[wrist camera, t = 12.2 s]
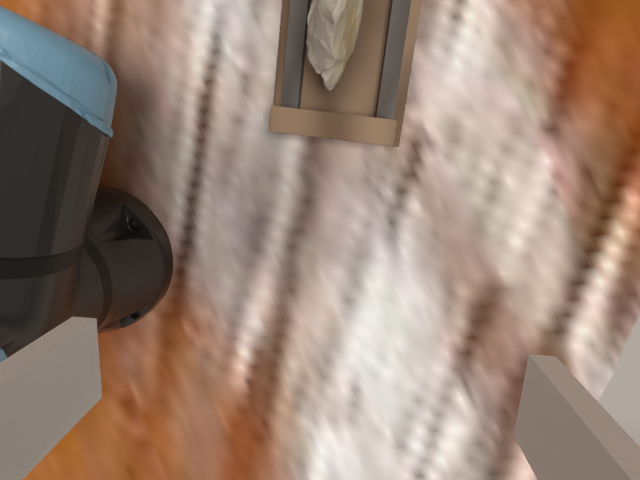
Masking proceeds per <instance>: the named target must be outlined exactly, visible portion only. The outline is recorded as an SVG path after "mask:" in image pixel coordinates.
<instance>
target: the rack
mask: <svg viewBox="0 0 640 480" xmlns="http://www.w3.org/2000/svg"><path fill="white" fill-rule="evenodd" d="M312 1H313V0H283V2H282V14H281V26H280V37H279V49H278V60H277V72H276V84H275V95H274V106H271V117H270V129H269V131H270V132H278V133H287V134H295V135H304V136H312V137H320V138H329V139H337V140H346V141H354V142H362V143H371V144H379V145H387V146H399V142H400V136H401V130H402V123H403V117H404V110H405V104H406V97H407V91H408V84H409V78H410V72H411V65H412V59H413V52H414V46H415V39H416V33H417V26H418V20H419V14H420V7H421V1H422V0H363V10H362V17H361V23H360V27H359V32H358V36H357V39H356V42H355V46H354V50H353V52H352V53H351V55H350V57H349V59H348V61H347V63H346V66H345V68H344V71H343V73H342V75H341V78H340V80H339V82H338V83H337V84H336V85H335V87H334V88H333V89H332V90H331V91H330V90H327V89H326V88H325V85H324V83H323V78H322V76H321V74H318V73H316V71H315V69H314V67H313V66H312V64H311V63H310V61H309V58H308V55H307V54H308V46H307V44H306V41H307V29H308V25H307V17H308V13H309V10H310V7H311V4H312Z"/></svg>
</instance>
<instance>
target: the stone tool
mask: <svg viewBox="0 0 640 480" xmlns="http://www.w3.org/2000/svg"><path fill="white" fill-rule="evenodd" d="M362 10H363V0H313V1H312V4H311V7H310V10H309V13H308V17H307V25H308V29H307V41H306V44H307V46H308V54H307V55H308V58H309V61H310V63H311V64H312V66H313V67H314V69H315V71H316V73H318V74H321V76H322V78H323V83H324V85H325V88H326V89H327V90H330V91H331V90H332V89H333V88H334V87H335V85H336V84H337V83H338V82H339V80H340V78H341V75H342V73H343V71H344V68H345V66H346V63H347V61H348V59H349V57H350V55H351V53H352V52H353V50H354V46H355V42H356V39H357V36H358V32H359V27H360V23H361V17H362Z"/></svg>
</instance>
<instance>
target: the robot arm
mask: <svg viewBox="0 0 640 480" xmlns="http://www.w3.org/2000/svg"><path fill="white" fill-rule="evenodd" d="M116 95H117V80H116V77H115V74H114V72H113V70H112V69H111V67H110V66H109V65H108V63H107V62H106V61H105V60H104V59H102V58H101V57H100V56H98V55H97V54H95V53H93V52H91V51H90V50H88V49H86V48H84V47H82V46H80V45H78V44H77V43H75V42H73V41H71V40H69V39H67V38H65V37H63V36H61V35H59V34H57V33H55V32H53V31H51V30H49V29H47V28H45V27H43V26H41V25H39V24H37V23H35V22H33V21H31V20H29V19H27V18H25V17H23V16H21V15H19V14H17V13H14V12H12V11H10V10H8V9H6V8H4V7H2V6H0V480H22V479H23V478H24V477H25V476H26V475H27V474H28V473H29V472H30V471H31V470H32V469H33V468H34V467H35V466H36V465H37V464H38V463H39V462H40V461H41V460H42V459H43V457H44V456H45V455H46V454H47V453H48V452H49V451H50V450H51V449H52V448H53V447H54V446H55V445H56V444H57V443H58V442H59V441H60V440H61V439H62V438H63V437H64V436H65V435H66V434H67V433H68V432H69V431H70V430H71V429H72V428H73V427H74V425H75V424H76V423H77V422H78V421H79V420H80V419H81V418H82V417H83V416H84V415H85V414H86V413H87V412H88V411H89V410H90V409H91V408H92V407H93V406H94V405H95V404H96V403H97V402H98V401H99V400H100V399H101V398H102V389H101V375H100V361H99V347H98V333H102V332H107V331H111V330H116V329H120V328H123V327H126V326H128V325H131V324H133V323H135V322H136V321H138V320H140V319H141V318H142V317H144V316H145V315H146V314H147V313H149V312H150V311H151V310H152V309H153V308H154V307H156V306H157V304H158V303H159V302H160V301H161V300H162V298H163V297H164V295H165V293H166V291H167V289H168V287H169V284H170V281H171V277H172V269H173V259H172V251H171V246H170V243H169V240H168V237H167V235H166V233H165V230H164V229H163V227H162V225H161V224H160V222H159V221H158V219H157V218H156V216H155V215H154V214H153V213H152V212H151V211H150V210H149V209H148V208H147V207H146V206H145V205H144V204H143V203H141V202H140V201H139V200H137V199H136V198H134V197H132V196H131V195H129V194H127V193H125V192H122V191H120V190H117V189H114V188H110V187H104V186H98V185H99V181H100V177H101V173H102V168H103V164H104V160H105V156H106V151H107V147H108V143H109V139H110V137H111V138H112V137H113V130H112V128H111V125H112V118H113V112H114V107H115V101H116ZM514 437H515V439H516V440H517V442H518V444H519V446H520V448H521V450H522V452H523V453H524V455H525V457H526V459H527V461H528V463H529V464H530V466H531V468H532V470H533V472H534V474H535V476H536V477H537V479H538V480H640V447H639V446H638V445H637V444H636V443H635V441H634V440H633V439H632V438H631V437H630V436H629V435H628V434H627V433H626V432H625V431H624V430H623V428H622V427H621V426H620V425H619V424H618V423H617V422H616V421H615V420H614V419H613V418H612V417H611V416H610V414H609V413H608V412H607V411H606V410H605V409H604V408H603V407H602V406H601V405H600V404H599V403H598V401H597V400H596V399H595V398H594V397H593V396H592V395H591V394H590V393H589V392H588V391H587V390H586V389H585V387H584V386H583V385H582V384H581V383H580V382H579V381H578V380H577V379H576V378H575V377H574V376H573V375H572V373H571V372H570V371H569V370H568V369H567V368H566V367H565V366H564V365H563V364H562V363H561V362H560V361H559V359H558V358H557V357H555V356H543V355H531V354H529V356H528V362H527V367H526V373H525V378H524V384H523V389H522V395H521V400H520V405H519V411H518V416H517V422H516V427H515V433H514Z"/></svg>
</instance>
